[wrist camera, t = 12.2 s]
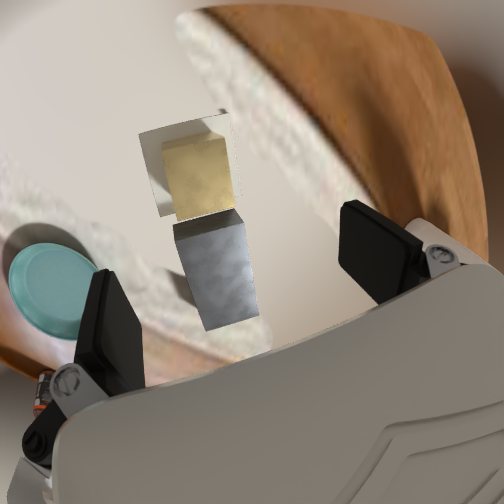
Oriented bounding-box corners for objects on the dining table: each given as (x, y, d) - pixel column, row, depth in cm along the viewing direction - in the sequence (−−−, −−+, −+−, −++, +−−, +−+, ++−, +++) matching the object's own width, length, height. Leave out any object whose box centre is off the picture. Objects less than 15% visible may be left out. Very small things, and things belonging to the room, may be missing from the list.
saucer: (137, 295, 32) (137, 308, 30) (70, 341, 32) (68, 354, 30) (58, 207, 24) (51, 217, 22) (-1, 275, 24) (-8, 286, 22)
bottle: (391, 257, 43) (514, 374, 19) (406, 215, 40) (548, 326, 15) (416, 255, 46) (526, 355, 21) (430, 218, 42) (553, 313, 18)
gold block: (161, 142, 24) (161, 151, 19) (211, 131, 25) (224, 137, 20) (174, 198, 27) (177, 221, 22) (221, 186, 28) (235, 206, 23)
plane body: (172, 224, 29) (174, 241, 26) (234, 208, 30) (244, 222, 27) (200, 310, 36) (205, 331, 33) (249, 295, 37) (259, 315, 34)
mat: (139, 133, 23) (138, 134, 23) (227, 113, 25) (229, 113, 24) (160, 215, 28) (160, 217, 27) (240, 193, 30) (242, 195, 29)
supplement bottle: (34, 367, 32) (24, 422, 23) (61, 369, 34) (54, 426, 25) (48, 387, 35) (42, 438, 26) (73, 388, 37) (70, 441, 27)
